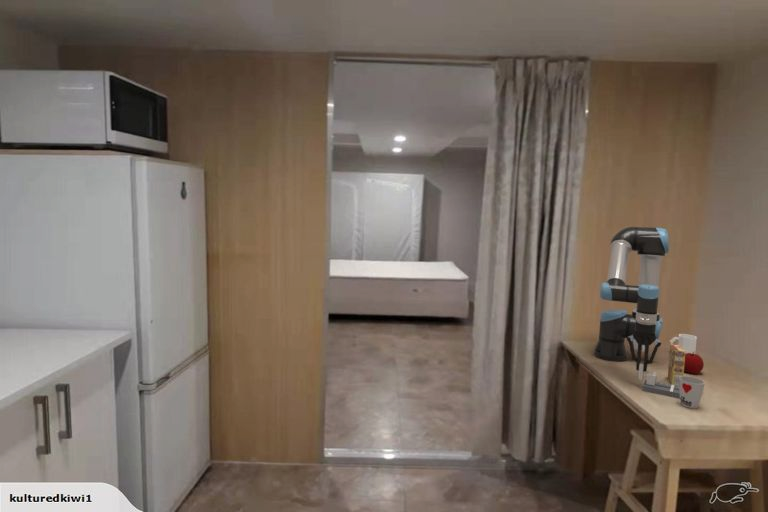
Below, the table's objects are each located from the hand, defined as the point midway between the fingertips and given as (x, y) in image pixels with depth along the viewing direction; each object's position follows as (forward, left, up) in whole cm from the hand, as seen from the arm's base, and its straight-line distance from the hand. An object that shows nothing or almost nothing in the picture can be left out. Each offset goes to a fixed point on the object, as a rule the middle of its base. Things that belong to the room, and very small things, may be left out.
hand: (640, 378), depth 202 cm
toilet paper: (-9, +61, -4) cm, 62 cm away
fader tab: (+4, 0, -1) cm, 4 cm away
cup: (+18, -10, -4) cm, 21 cm away
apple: (+16, +35, -4) cm, 39 cm away
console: (+10, 0, -4) cm, 11 cm away
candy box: (+11, +15, -4) cm, 19 cm away
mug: (+11, +64, -4) cm, 65 cm away
